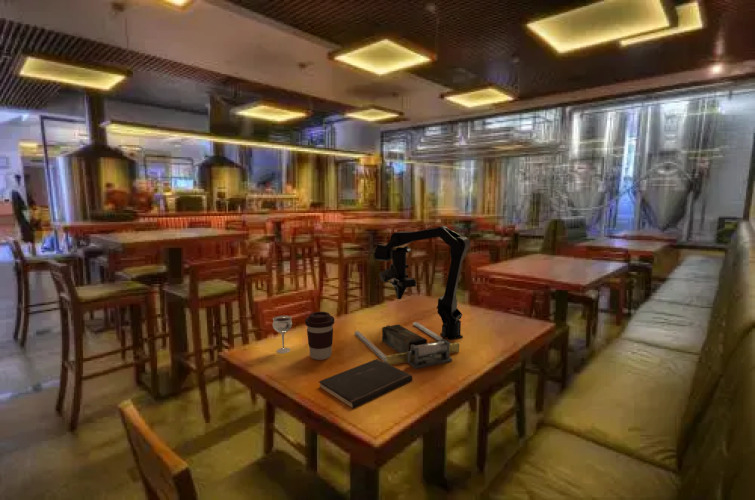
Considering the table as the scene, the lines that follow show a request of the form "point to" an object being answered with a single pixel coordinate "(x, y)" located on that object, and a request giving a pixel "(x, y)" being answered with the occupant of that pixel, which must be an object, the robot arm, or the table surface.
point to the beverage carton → (401, 338)
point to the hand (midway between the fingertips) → (399, 299)
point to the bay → (402, 356)
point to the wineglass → (282, 329)
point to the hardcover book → (365, 382)
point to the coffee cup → (320, 334)
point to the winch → (428, 354)
